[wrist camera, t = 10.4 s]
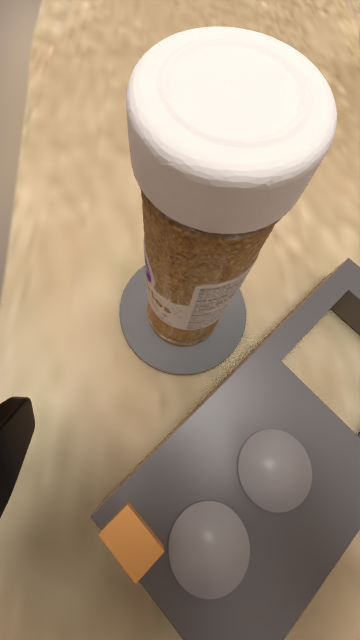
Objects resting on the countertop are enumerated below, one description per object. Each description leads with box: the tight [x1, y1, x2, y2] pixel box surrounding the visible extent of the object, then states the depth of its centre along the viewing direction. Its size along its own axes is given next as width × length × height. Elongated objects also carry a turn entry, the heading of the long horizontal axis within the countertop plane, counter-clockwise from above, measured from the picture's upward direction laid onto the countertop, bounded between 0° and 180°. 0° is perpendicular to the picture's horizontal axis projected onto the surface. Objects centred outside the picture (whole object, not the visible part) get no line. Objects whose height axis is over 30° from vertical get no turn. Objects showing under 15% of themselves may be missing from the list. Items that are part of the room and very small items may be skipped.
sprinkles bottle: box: [126, 27, 337, 346], centre depth 12 cm, size 5×5×13 cm
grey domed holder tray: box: [91, 258, 360, 640], centre depth 16 cm, size 20×9×3 cm, turn 133°
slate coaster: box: [120, 266, 246, 375], centre depth 19 cm, size 8×8×1 cm
